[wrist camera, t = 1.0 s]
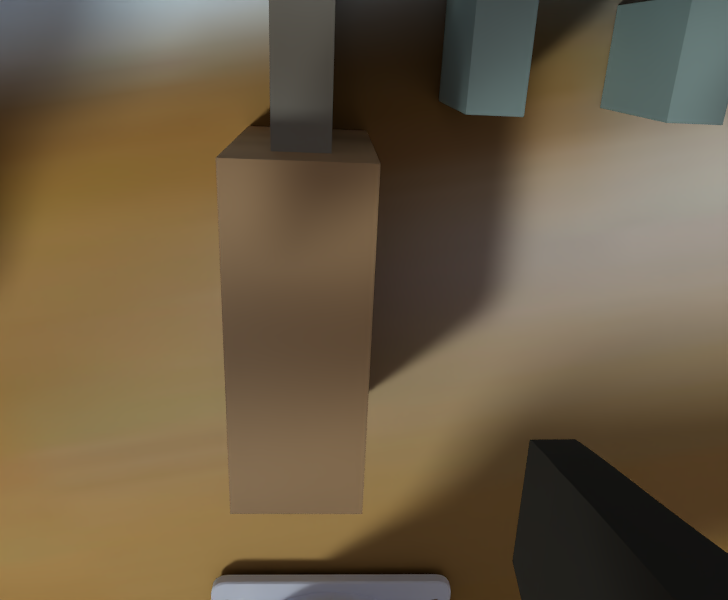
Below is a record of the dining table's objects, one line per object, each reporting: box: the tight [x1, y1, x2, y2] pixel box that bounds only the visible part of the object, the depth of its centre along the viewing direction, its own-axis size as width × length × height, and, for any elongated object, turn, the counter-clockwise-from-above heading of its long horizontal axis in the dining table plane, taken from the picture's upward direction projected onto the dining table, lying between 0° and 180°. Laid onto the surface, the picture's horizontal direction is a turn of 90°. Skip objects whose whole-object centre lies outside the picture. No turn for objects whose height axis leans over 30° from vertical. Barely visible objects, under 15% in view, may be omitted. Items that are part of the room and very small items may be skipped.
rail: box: [216, 0, 381, 514], centre depth 15 cm, size 12×3×5 cm, turn 178°
